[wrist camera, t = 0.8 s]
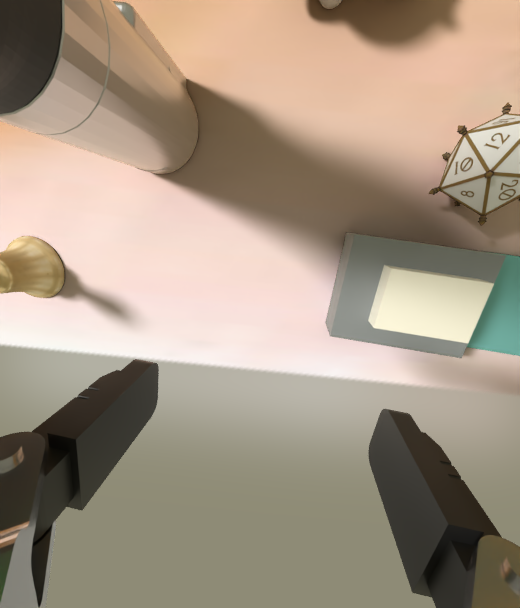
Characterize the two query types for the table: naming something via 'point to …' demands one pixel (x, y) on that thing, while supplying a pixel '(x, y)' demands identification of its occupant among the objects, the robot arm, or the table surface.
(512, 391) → the table surface
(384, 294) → the ivory tile
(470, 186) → the game die
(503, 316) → the teal mat
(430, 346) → the gray board
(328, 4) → the round bodied animal figurine
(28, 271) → the hand bell
